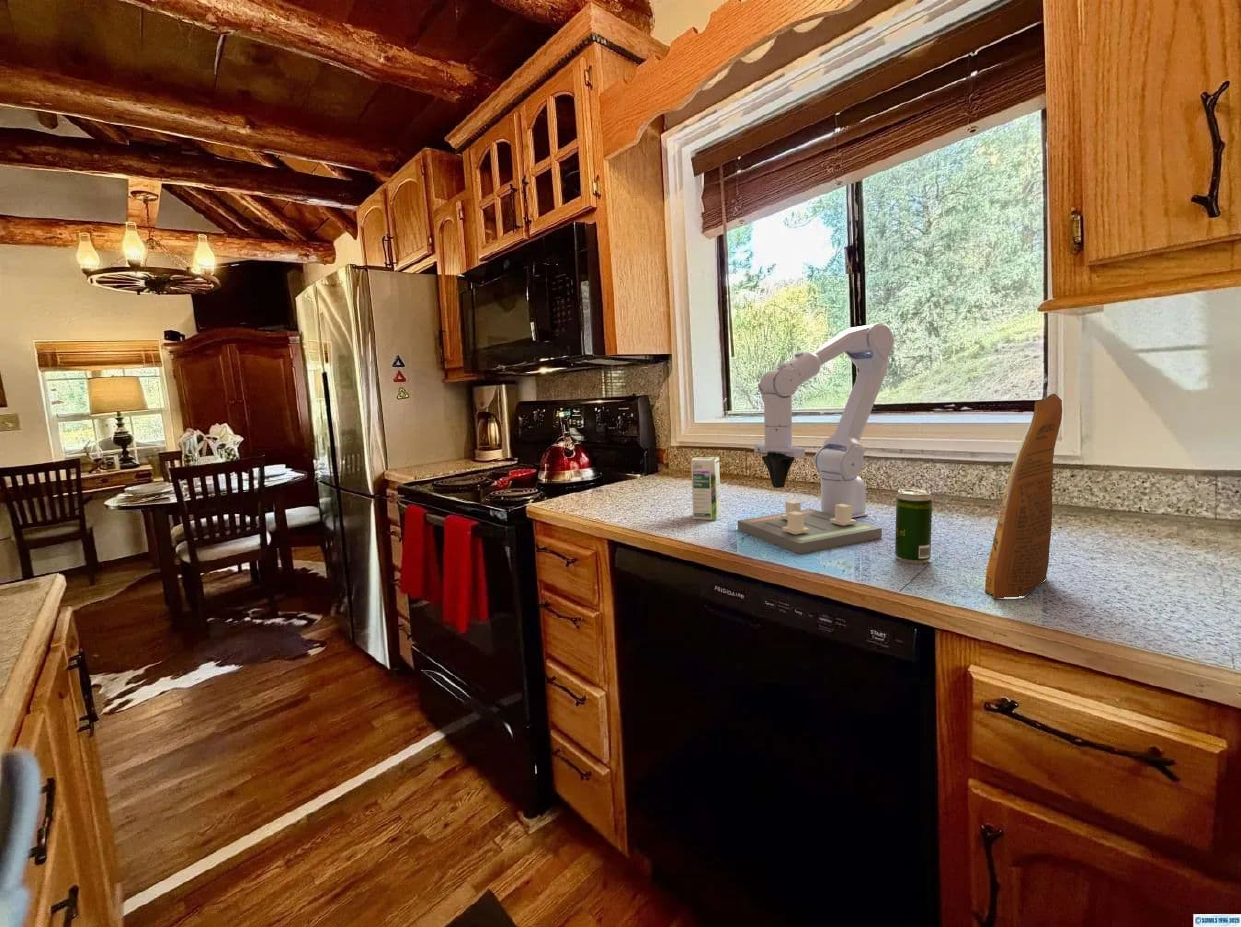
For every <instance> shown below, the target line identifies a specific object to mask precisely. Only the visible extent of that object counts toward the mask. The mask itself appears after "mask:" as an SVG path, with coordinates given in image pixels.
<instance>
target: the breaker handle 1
mask: <svg viewBox="0 0 1241 927" xmlns="http://www.w3.org/2000/svg"><path fill="white" fill-rule="evenodd" d="M782 530H783V531H786V532H789V533H792V534H800V533H805V532H809V529H808V528H805V527H804V514H803V513H800V512H796V511H794V512H788V513H787V527H782Z"/></svg>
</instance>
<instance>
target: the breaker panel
mask: <svg viewBox="0 0 1241 927" xmlns="http://www.w3.org/2000/svg"><path fill="white" fill-rule="evenodd" d="M801 513H803V514H804V516H806V519H804V527H805V528H808V529H809V532H805V533H800V534H792V533H789V532H786V531H783V530H782V527H787V520H786V519H783V518H781V515H784V514H786V512H784V513H783V512H782V513H776V514H775V513H774V514H770V515H764V516H758V517H757V516H756V517H752V518H751V517H750V518H745V519H738V520H737V530H739V531H741V532H743V533H746V534H748V535H751V536H752V537H753V536H754V537H756V538H759V539H761V540H764V541H765V542H766V541H767V542H768V543H772V544H774V545H777V546H778V547H782V548H784V549H786V550H789V551H792V552H794V553H797V554H800V555H802V554H806V553H811V552H812V553H813V552H816V551H823V550H826V549H827V550H828V549H832V548H836V547H843V546H847V545H848V546H849V545H853V544H857V543H862V542H866V541H867V542H868V541H872V540H876V539H877V538H878V539H882V538H883V537H882V536H883V535H882V534H883V533H882V532H883V531H882V530H883V527H880V526H877V525H876V526H875V525H872V524H869V523H864V522H860V521H857V523H855V524H850V525H844V526H842V525H839V524H835V523H832V522H830V519H833V518H835V515H832V514H829V513H825V512H821V511H820V510H818V509H813V508H809V509H808V508H807V509H801ZM881 537H882V538H881Z"/></svg>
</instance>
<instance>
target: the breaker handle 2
mask: <svg viewBox="0 0 1241 927" xmlns="http://www.w3.org/2000/svg"><path fill="white" fill-rule="evenodd" d="M851 514H852V506H850V505H846V504H838V505H835V518H833V519H830V522H832V523H835V524H839V525H842V526H844V525H850V524H855V523H857V520H858V519H857V520H856V519H853V518H851Z"/></svg>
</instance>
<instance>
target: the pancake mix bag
mask: <svg viewBox="0 0 1241 927" xmlns="http://www.w3.org/2000/svg"><path fill="white" fill-rule="evenodd" d="M1062 401H1063V400H1062V398H1060V397H1059V396H1058V394H1056V393H1050V394H1049V395H1048V396H1047V397H1045V398H1043V399H1039V400H1037V401H1035V402H1034V411H1033V414H1032V418H1031V421H1030V423H1029V425H1028V427H1027V429H1026V432H1025V433H1024V436H1023V438H1022V440H1021V442H1020V444H1019V446H1018V448H1017V451H1016V454H1015V457H1014V459H1013V462H1012V465H1011V468H1010V471H1009V475H1008V479H1007V480H1008V481H1007V484H1006V486H1005V489H1004V494H1003V497H1002V502H1001V507H1000V509H999V514H998V515H999V516H998V519H997V524H996V528H995V531H994V536H993V539H992V540H993V541H992V544H991V549H990V554H989V558H988V562H987V566H986V571H985V581H984V582H985V583H984V584H985V585H984V593H986V592H987V593H986V594H988V593H991V594H993V595H992V599H993V598H1004V597H1019V596H1025V595H1027V594H1028V593H1029V594H1031V593H1032V592H1033V591H1034V590H1036V589H1037V588H1038V587H1039V586H1040V585H1041V584H1042V583H1041V582H1043V581H1044V580H1045V579H1046V580H1047V574H1048V568H1049V563H1050V561H1049V560H1050V547H1051V546H1050V545H1051V535H1052V524H1053V521H1052V520H1053V482H1054V457H1055V447H1056V443H1057V439H1058V435H1059V432H1060V427H1061V422H1062V417H1063V403H1062ZM1040 583H1041V584H1040ZM1043 583H1044V582H1043ZM1039 584H1040V585H1039ZM1038 585H1039V586H1038ZM1037 586H1038V587H1037ZM1036 587H1037V588H1036ZM1035 588H1036V589H1035ZM1032 590H1033V591H1032ZM1031 591H1032V592H1031ZM1030 592H1031V593H1030ZM1029 594H1028V595H1029ZM1028 595H1027V596H1028Z"/></svg>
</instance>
